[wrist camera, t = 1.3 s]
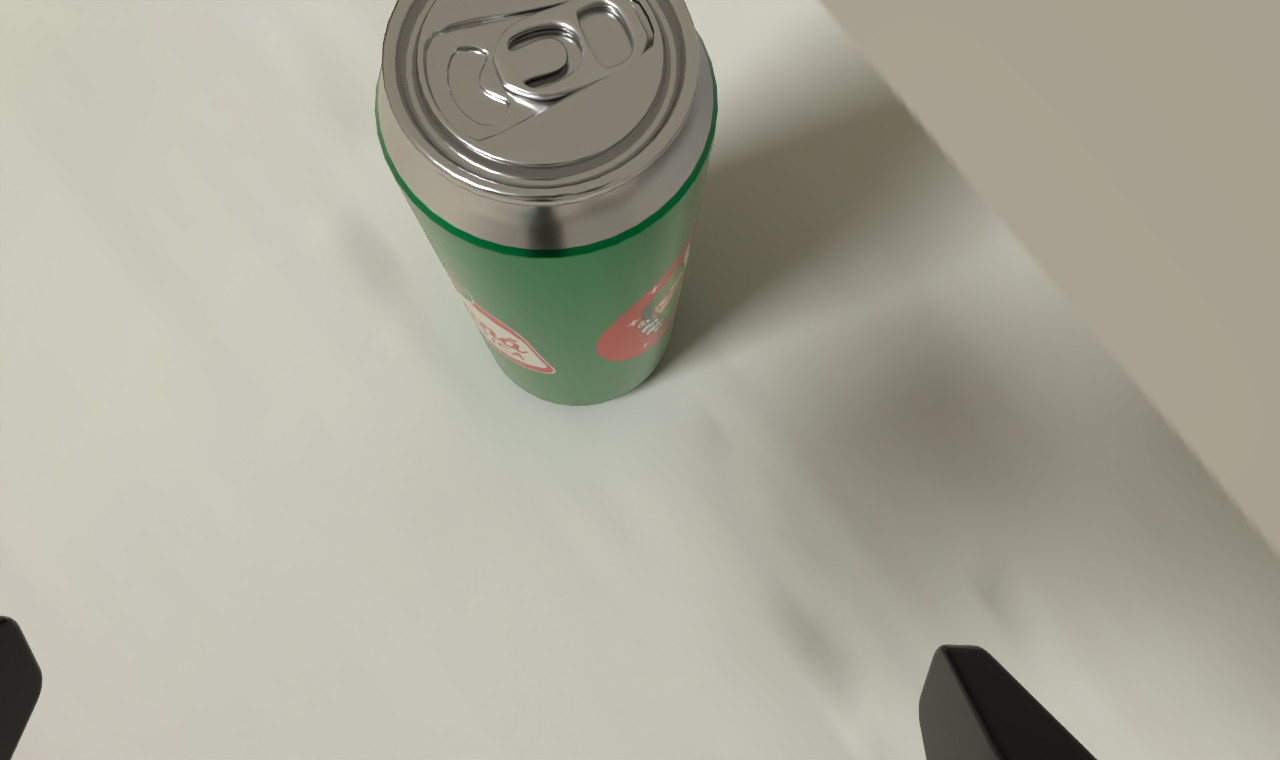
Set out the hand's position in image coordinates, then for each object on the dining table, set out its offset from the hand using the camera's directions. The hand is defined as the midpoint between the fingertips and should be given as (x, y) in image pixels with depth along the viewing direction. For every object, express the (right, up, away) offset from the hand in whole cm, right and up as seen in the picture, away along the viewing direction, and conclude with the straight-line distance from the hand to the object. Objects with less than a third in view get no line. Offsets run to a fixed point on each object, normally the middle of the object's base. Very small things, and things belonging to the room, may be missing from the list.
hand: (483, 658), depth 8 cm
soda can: (0, +4, +15) cm, 16 cm away
